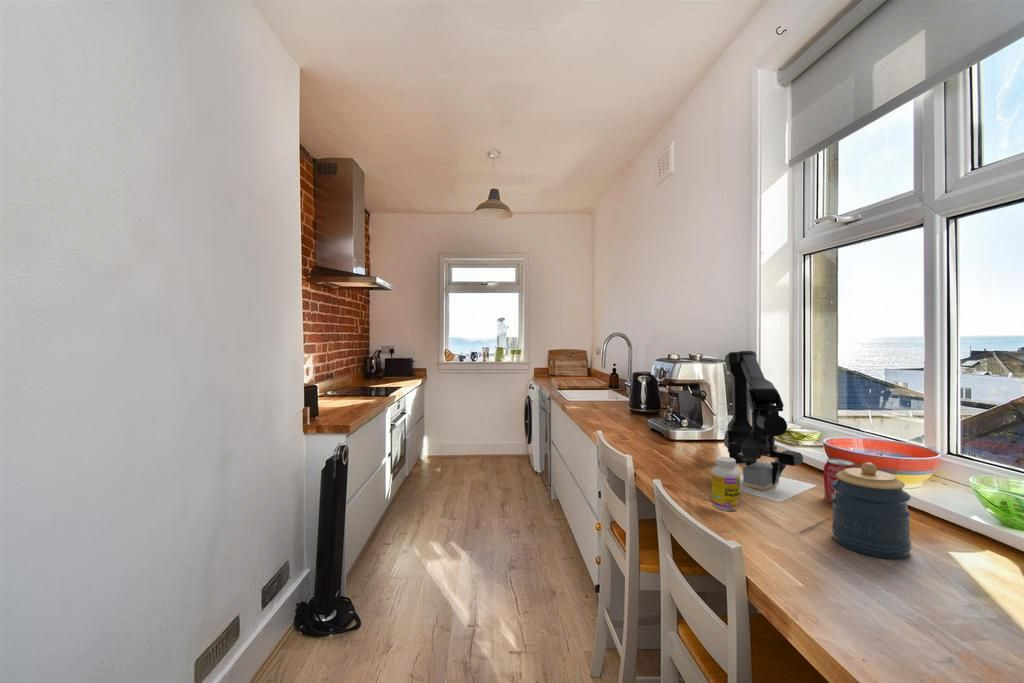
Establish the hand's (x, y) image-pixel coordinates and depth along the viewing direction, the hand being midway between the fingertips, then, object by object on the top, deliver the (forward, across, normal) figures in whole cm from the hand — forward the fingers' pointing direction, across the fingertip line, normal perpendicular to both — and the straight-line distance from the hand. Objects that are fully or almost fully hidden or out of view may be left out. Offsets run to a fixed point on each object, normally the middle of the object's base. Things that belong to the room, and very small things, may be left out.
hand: (763, 482), depth 126 cm
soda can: (+3, +18, +3) cm, 18 cm away
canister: (+3, +30, -16) cm, 34 cm away
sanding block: (0, 0, -1) cm, 1 cm away
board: (+2, 0, +1) cm, 3 cm away
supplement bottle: (+3, +1, -21) cm, 21 cm away
